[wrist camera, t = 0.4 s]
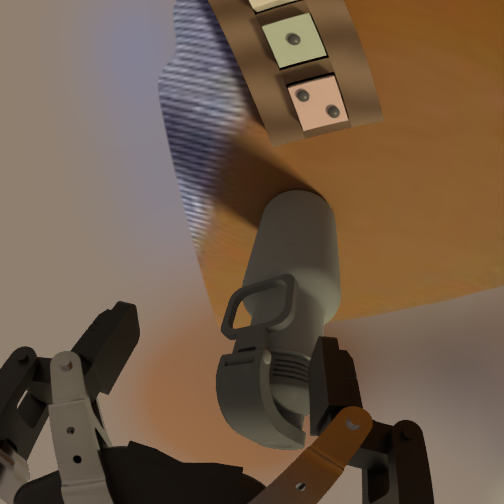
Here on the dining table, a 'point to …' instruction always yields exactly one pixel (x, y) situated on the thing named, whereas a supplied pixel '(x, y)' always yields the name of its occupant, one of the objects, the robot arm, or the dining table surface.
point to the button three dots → (267, 4)
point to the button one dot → (294, 40)
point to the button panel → (274, 80)
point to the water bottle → (280, 320)
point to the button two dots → (318, 102)
